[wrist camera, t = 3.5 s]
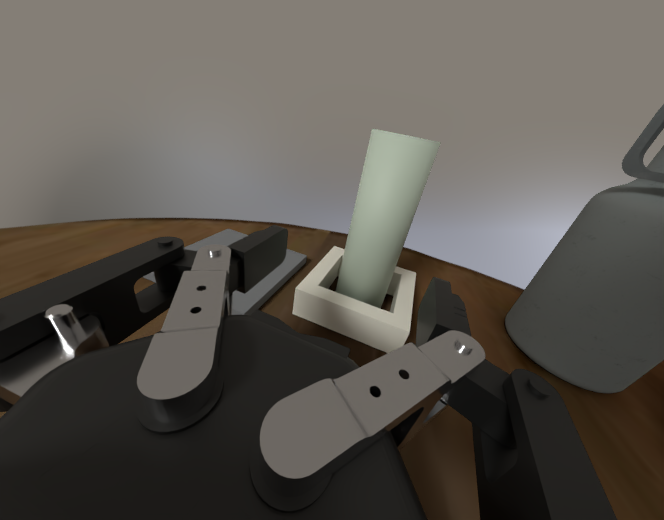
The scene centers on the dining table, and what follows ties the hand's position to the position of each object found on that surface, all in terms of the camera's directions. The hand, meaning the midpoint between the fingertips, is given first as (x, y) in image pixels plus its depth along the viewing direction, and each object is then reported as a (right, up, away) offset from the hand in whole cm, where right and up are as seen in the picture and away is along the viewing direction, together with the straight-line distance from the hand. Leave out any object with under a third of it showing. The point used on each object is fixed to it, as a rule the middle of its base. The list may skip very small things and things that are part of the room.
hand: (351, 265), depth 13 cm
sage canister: (+2, -4, +13) cm, 13 cm away
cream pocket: (+2, -4, +13) cm, 13 cm away
